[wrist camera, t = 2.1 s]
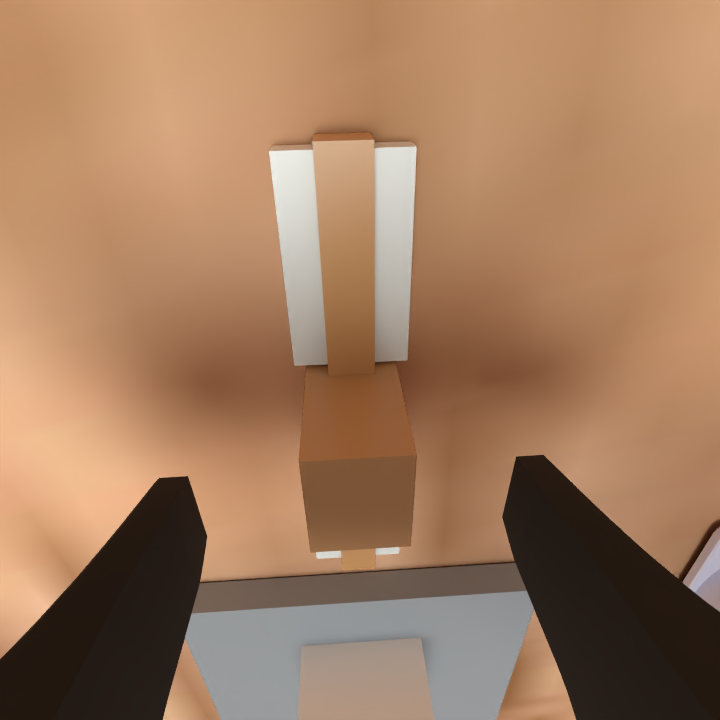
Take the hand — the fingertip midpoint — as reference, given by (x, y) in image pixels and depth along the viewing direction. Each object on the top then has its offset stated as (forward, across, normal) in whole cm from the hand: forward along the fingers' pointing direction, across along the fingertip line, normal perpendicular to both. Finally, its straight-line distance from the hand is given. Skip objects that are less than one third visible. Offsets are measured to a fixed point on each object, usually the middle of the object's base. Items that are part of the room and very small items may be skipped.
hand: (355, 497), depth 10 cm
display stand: (+4, 0, +19) cm, 19 cm away
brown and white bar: (+4, 0, 0) cm, 4 cm away
